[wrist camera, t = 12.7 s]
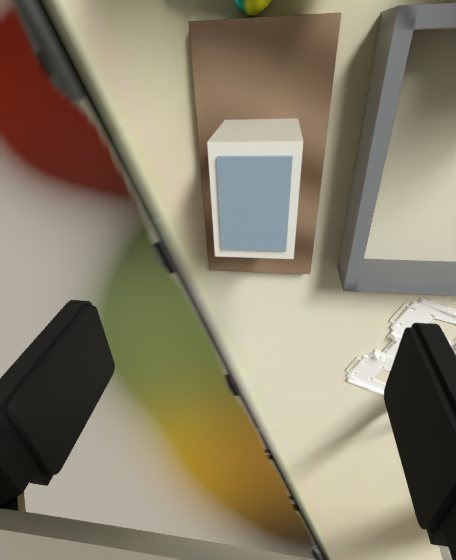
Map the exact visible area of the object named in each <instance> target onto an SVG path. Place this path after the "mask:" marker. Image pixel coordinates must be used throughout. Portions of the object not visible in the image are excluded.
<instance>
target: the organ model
mask: <svg viewBox="0 0 456 560" xmlns="http://www.w3.org/2000/svg"><path fill="white" fill-rule="evenodd" d="M271 1H272V0H235V3H236V5H237V7H238V8H239V10H240V11H241V12H242V13H244V14H245V15H248V16H254V15H257V14H259V13H261V12H262V11H263V10H264V9H265V8H266V7H267V6H268V5H269V3H270V2H271Z"/></svg>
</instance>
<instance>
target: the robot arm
mask: <svg viewBox="0 0 456 560" xmlns="http://www.w3.org/2000/svg"><path fill="white" fill-rule="evenodd" d="M114 369H115V364H114V360H113V358H112V354H111V351H110V348H109V345H108V342H107V339H106V336H105V332H104V329H103V326H102V323H101V320H100V317H99V314H98V311H97V308H96V307H95V306H93V305H92V303H91V302H89V301H79V300H71V301H69V302H68V303H67V304H66V305H65V306H64V307H63V308H62V309H61V310H60V312H59V313H58V314H57V315H56V316H55V317H54V318H53V320H52V321H51V322H50V323H49V324H48V325H47V326H46V327H45V329H44V330H43V331H42V332H41V333H40V334H39V335H38V336H37V338H36V339H35V340H34V341H33V342H32V343H31V344H30V346H29V347H28V348H27V349H26V350H25V351H24V352H23V353H22V355H21V356H20V357H19V358H18V359H17V360H16V361H15V363H14V364H13V365H12V366H11V367H10V368H9V369H8V370H7V372H6V373H5V374H4V375H3V376H2V377H1V379H0V560H314V559H308V558H302V557H297V556H291V555H285V554H279V553H273V552H267V551H262V550H256V549H250V548H244V547H238V546H231V545H226V544H220V543H214V542H208V541H201V540H196V539H190V538H184V537H178V536H172V535H166V534H160V533H153V532H147V531H142V530H135V529H129V528H123V527H116V526H111V525H104V524H98V523H92V522H86V521H79V520H73V519H67V518H61V517H54V516H48V515H42V514H36V513H28V512H26V510H25V499H24V490H25V488H26V487H27V485H28V483H29V482H30V483H33V484H40V485H48V484H49V482H50V480H51V479H52V477H53V475H56V474H57V473H59V471H60V470H61V469H62V467H63V465H64V463H65V461H66V460H67V457H68V456H69V454H70V452H71V450H72V449H73V447H74V445H75V443H76V441H77V439H78V437H79V436H80V434H81V432H82V430H83V428H84V427H85V425H86V423H87V421H88V419H89V417H90V416H91V414H92V412H93V410H94V408H95V406H96V404H97V403H98V401H99V399H100V397H101V395H102V394H103V392H104V390H105V388H106V386H107V384H108V383H109V381H110V379H111V377H112V375H113V373H114ZM384 400H385V404H386V408H387V412H388V415H389V419H390V423H391V426H392V430H393V434H394V437H395V441H396V444H397V448H398V452H399V455H400V459H401V463H402V466H403V470H404V474H405V477H406V481H407V484H408V488H409V492H410V495H411V499H412V503H413V506H414V510H415V514H416V517H417V520H418V523H419V525H420V527H421V528H422V529H426V530H427V532H428V536H429V539H430V542H431V544H433V545H440V546H446V547H448V548H449V551H450V554H451V557H452V560H456V355H455V353H454V351H453V349H452V347H451V346H450V344H449V342H448V340H447V338H446V337H445V335H444V333H443V331H442V329H441V328H440V326H439V325H437V324H430V323H413V324H412V326H411V327H406V328H405V330H404V332H403V335H402V338H401V341H400V344H399V347H398V350H397V353H396V356H395V359H394V362H393V365H392V368H391V371H390V374H389V377H388V380H387V383H386V385H385V389H384Z"/></svg>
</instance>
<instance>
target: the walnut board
mask: <svg viewBox="0 0 456 560" xmlns="http://www.w3.org/2000/svg"><path fill="white" fill-rule="evenodd" d="M340 18H341V13H326V14H309V15H292V16H274V17H257V18H239V19H222V20H205V21H189V31H190V44H191V56H192V68H193V80H194V92H195V105H196V117H197V129H198V141H199V153H200V166H201V178H202V190H203V202H204V214H205V227H206V239H207V251H208V263H209V270H221V271H246V272H271V273H297V274H310V271H311V262H312V254H313V245H314V237H315V229H316V220H317V212H318V203H319V195H320V187H321V178H322V170H323V161H324V153H325V145H326V136H327V128H328V119H329V111H330V102H331V94H332V86H333V77H334V69H335V60H336V52H337V44H338V35H339V27H340ZM244 119H298V120H299V124H300V129H301V133H302V137H303V152H302V164H301V176H300V188H299V200H298V212H297V224H296V236H295V248H294V259H275V258H246V257H216V256H215V249H214V234H213V219H212V205H211V190H210V176H209V161H208V146H207V142H208V141H209V139H210V138H211V137H212V135H213V134H214V133H215V132H216V130H217V129H218V128H219V127H220V125H221V124H222V123H223V122H224V120H244Z"/></svg>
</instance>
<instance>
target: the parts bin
mask: <svg viewBox="0 0 456 560" xmlns="http://www.w3.org/2000/svg"><path fill="white" fill-rule="evenodd" d="M443 29H456V2H455V3H438V4H421V5H404V6H396V7H394V8H391V9H388V10H386V11H383V12H382V13H381V19H380V25H379V30H378V36H377V42H376V48H375V54H374V60H373V65H372V71H371V77H370V83H369V89H368V95H367V100H366V106H365V112H364V118H363V124H362V129H361V135H360V141H359V147H358V153H357V159H356V164H355V170H354V176H353V182H352V188H351V193H350V199H349V205H348V211H347V217H346V223H345V228H344V234H343V240H342V246H341V252H340V257H339V263H338V271H339V275H340V279H341V283H342V287H343V291H359V292H381V293H403V294H425V295H447V296H456V262H439V261H409V260H379V259H364V254H365V250H366V245H367V241H368V236H369V231H370V227H371V222H372V218H373V213H374V209H375V204H376V199H377V195H378V190H379V186H380V181H381V177H382V172H383V168H384V163H385V158H386V154H387V149H388V145H389V140H390V136H391V131H392V126H393V122H394V117H395V113H396V108H397V104H398V99H399V94H400V90H401V85H402V81H403V76H404V72H405V67H406V62H407V58H408V53H409V49H410V44H411V40H412V35H413V31H422V30H443Z"/></svg>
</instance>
